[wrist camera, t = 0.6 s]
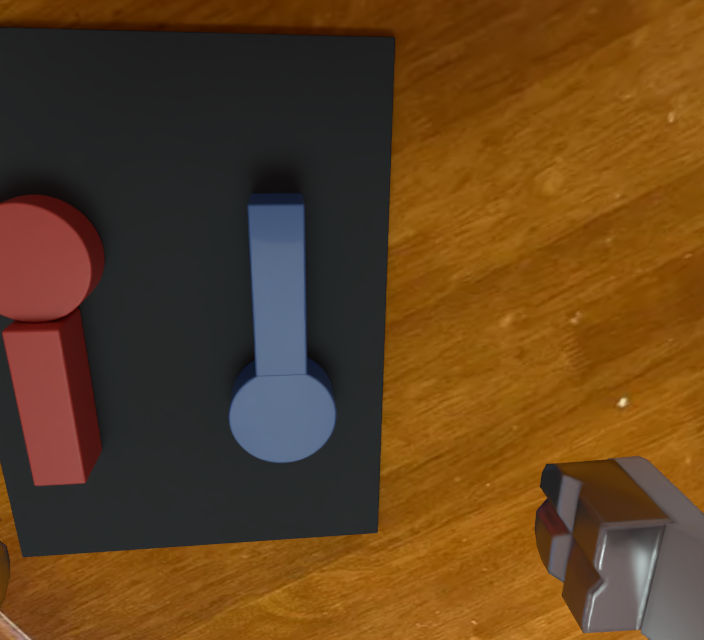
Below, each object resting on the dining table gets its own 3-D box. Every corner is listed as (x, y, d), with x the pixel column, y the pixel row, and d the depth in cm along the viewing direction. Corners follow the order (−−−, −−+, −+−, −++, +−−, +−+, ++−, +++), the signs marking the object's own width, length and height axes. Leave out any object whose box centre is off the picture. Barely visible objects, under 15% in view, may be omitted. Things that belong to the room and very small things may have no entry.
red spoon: (132, 448, 23) (117, 482, 21) (25, 454, 23) (1, 489, 21) (96, 193, 20) (75, 204, 18) (-30, 194, 19) (-67, 206, 17)
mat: (-95, 25, 18) (-103, 24, 18) (393, 38, 20) (395, 37, 19) (26, 550, 25) (22, 557, 25) (376, 527, 27) (377, 533, 26)
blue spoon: (217, 193, 20) (211, 204, 18) (333, 193, 21) (339, 203, 19) (234, 443, 24) (230, 476, 22) (333, 438, 24) (338, 470, 22)
